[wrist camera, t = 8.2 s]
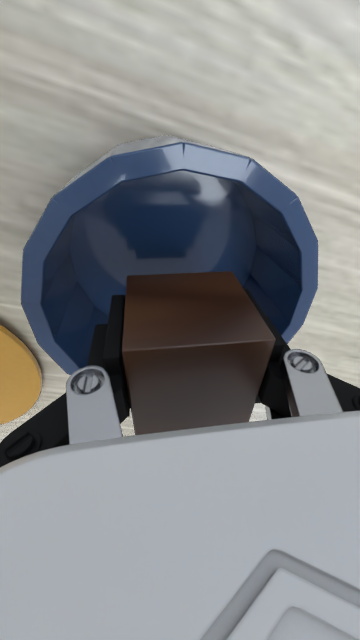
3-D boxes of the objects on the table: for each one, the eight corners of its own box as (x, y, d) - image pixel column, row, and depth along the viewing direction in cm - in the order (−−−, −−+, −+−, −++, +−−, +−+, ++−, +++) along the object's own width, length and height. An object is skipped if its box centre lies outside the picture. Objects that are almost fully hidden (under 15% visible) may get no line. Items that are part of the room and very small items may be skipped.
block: (135, 353, 14) (135, 436, 10) (126, 274, 11) (121, 350, 7) (220, 346, 14) (248, 423, 10) (232, 270, 11) (277, 339, 8)
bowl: (49, 316, 19) (16, 387, 14) (76, 80, 12) (29, 47, 7) (211, 348, 23) (233, 412, 18) (305, 192, 16) (385, 224, 11)
